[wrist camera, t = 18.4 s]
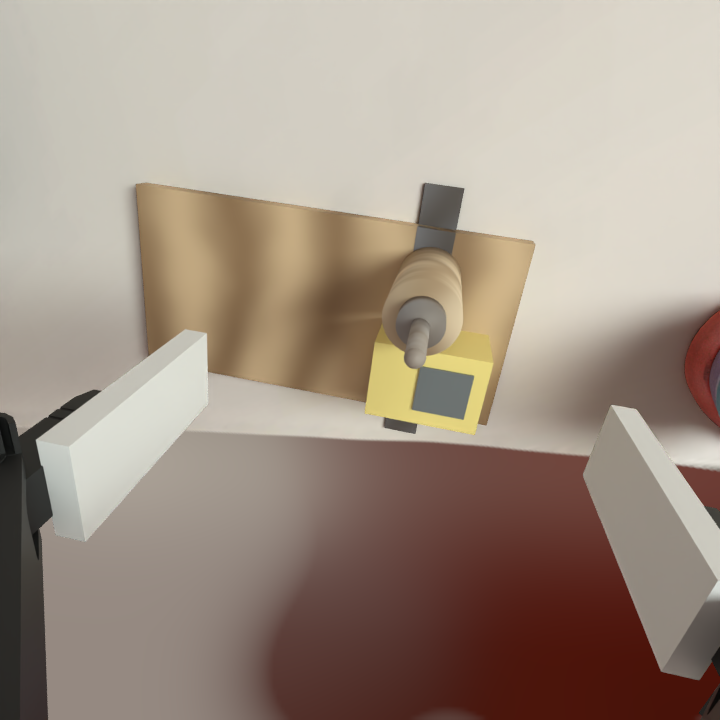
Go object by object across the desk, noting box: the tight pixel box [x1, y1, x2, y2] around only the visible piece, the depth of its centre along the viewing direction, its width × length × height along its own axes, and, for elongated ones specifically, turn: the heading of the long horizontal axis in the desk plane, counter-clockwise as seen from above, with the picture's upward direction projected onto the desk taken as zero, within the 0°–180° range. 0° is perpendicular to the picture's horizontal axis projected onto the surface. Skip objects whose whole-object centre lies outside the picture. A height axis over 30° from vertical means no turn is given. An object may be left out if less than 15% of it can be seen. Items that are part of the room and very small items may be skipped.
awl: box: [382, 247, 463, 369], centre depth 25 cm, size 4×4×13 cm
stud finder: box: [365, 324, 494, 435], centre depth 32 cm, size 7×5×5 cm
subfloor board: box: [136, 183, 535, 434], centre depth 34 cm, size 26×18×1 cm
